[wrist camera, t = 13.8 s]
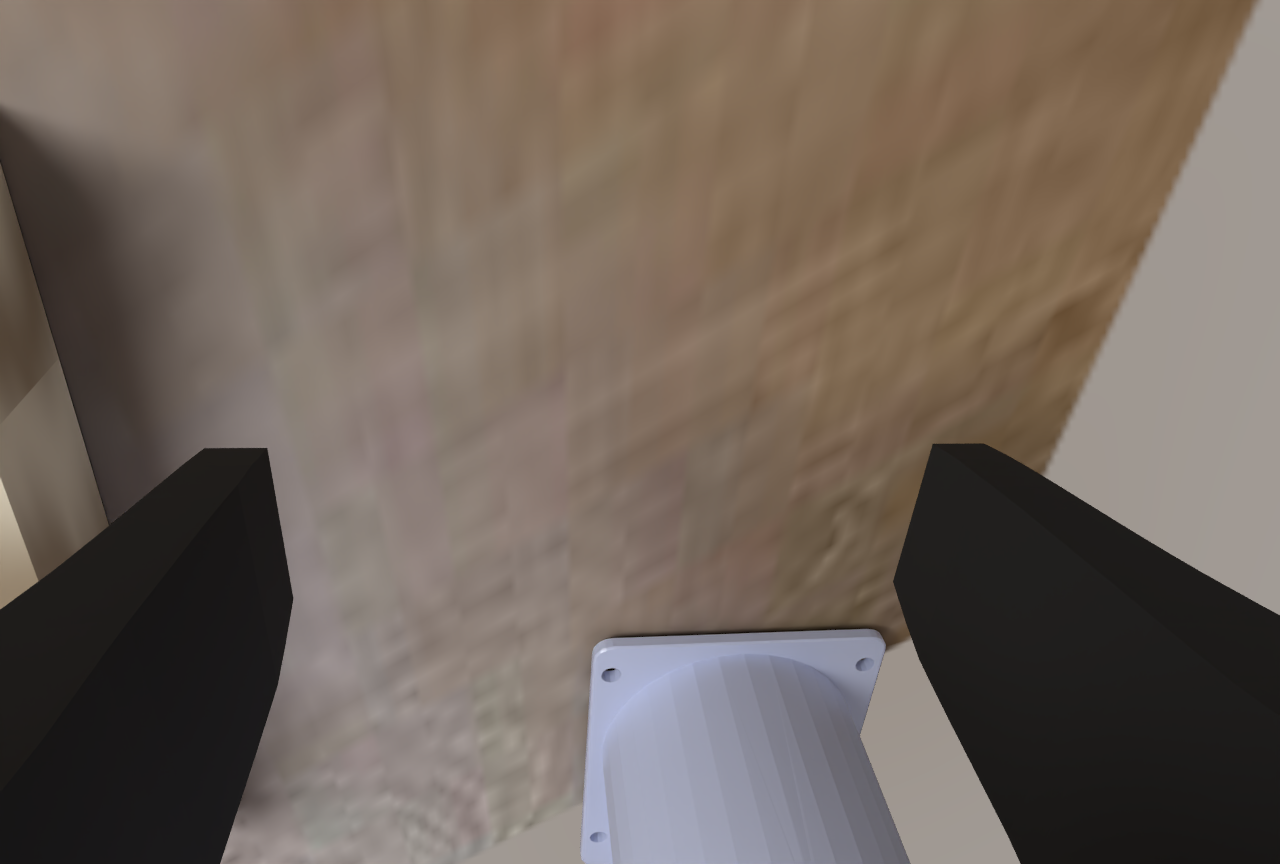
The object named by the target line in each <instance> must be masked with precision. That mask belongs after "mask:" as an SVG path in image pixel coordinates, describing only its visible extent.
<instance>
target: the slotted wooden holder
mask: <svg viewBox="0 0 1280 864" xmlns="http://www.w3.org/2000/svg"><path fill="white" fill-rule="evenodd" d="M108 526H109V524H108V521H107V517H106V514H105V511H104V507H103V504H102V501H101V497H100V494H99V491H98V487H97V484H96V481H95V477H94V474H93V471H92V467H91V464H90V461H89V457H88V454H87V451H86V447H85V444H84V441H83V437H82V434H81V431H80V427H79V424H78V421H77V417H76V414H75V411H74V407H73V404H72V401H71V397H70V394H69V391H68V387H67V384H66V380H65V377H64V374H63V370H62V367H61V364H60V360H59V357H58V354H57V350H56V347H55V344H54V340H53V337H52V334H51V330H50V327H49V324H48V320H47V317H46V314H45V310H44V307H43V304H42V300H41V297H40V294H39V290H38V287H37V284H36V280H35V277H34V274H33V270H32V267H31V264H30V260H29V257H28V254H27V250H26V247H25V244H24V240H23V237H22V234H21V230H20V227H19V223H18V220H17V217H16V213H15V210H14V207H13V203H12V200H11V197H10V193H9V190H8V187H7V183H6V180H5V177H4V173H3V170H2V167H1V163H0V609H1V608H3V607H4V606H6V605H7V604H8V603H10V602H11V601H12V600H14V599H15V598H16V597H18V596H19V595H21V594H22V593H23V592H25V591H26V590H27V589H29V588H30V587H31V586H33V585H34V584H36V583H37V582H38V581H40V580H41V579H42V578H44V577H45V576H46V575H48V574H49V573H50V572H52V571H53V570H54V569H56V568H57V567H58V566H60V565H61V564H62V563H63V562H65V561H66V560H67V559H68V558H70V557H71V556H72V555H73V554H75V553H76V552H77V551H78V550H79V549H81V548H82V547H83V546H84V545H86V544H87V543H88V542H89V541H91V540H92V539H93V538H94V537H96V536H97V535H98V534H99V533H101V532H102V531H103V530H104V529H106V528H107V527H108Z"/></svg>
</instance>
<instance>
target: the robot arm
mask: <svg viewBox="0 0 1280 864" xmlns="http://www.w3.org/2000/svg"><path fill="white" fill-rule="evenodd" d="M893 583H894V586H895V589H896V592H897V595H898V599H899V602H900V605H901V608H902V611H903V614H904V617H905V621H906V624H907V627H908V629H909V632H910V635H911V638H912V640H913V643H914V646H915V649H916V651H917V654H918V657H919V660H920V662H921V664H922V666H923V668H924V670H925V672H926V674H927V676H928V678H929V680H930V683H931V684H932V686H933V688H934V691H935V693H936V695H937V697H938V699H939V701H940V702H941V705H942V707H943V708H944V711H945V713H946V715H947V717H948V719H949V721H950V723H951V725H952V727H953V728H954V730H955V732H956V734H957V736H958V738H959V740H960V742H961V744H962V746H963V748H964V750H965V752H966V754H967V756H968V758H969V760H970V762H971V763H972V766H973V768H974V770H975V772H976V774H977V776H978V778H979V780H980V782H981V784H982V786H983V788H984V790H985V792H986V793H987V795H988V797H989V799H990V801H991V803H992V805H993V807H994V809H995V811H996V813H997V815H998V817H999V819H1000V821H1001V823H1002V825H1003V827H1004V829H1005V831H1006V833H1007V835H1008V837H1009V839H1010V841H1011V843H1012V846H1013V848H1014V850H1015V852H1016V854H1017V857H1018V859H1019V861H1020V863H1021V864H1280V615H1278V614H1276V613H1274V612H1272V611H1271V610H1269V609H1267V608H1265V607H1263V606H1261V605H1259V604H1258V603H1256V602H1254V601H1252V600H1250V599H1248V598H1247V597H1245V596H1243V595H1241V594H1240V593H1238V592H1236V591H1234V590H1232V589H1230V588H1229V587H1227V586H1225V585H1223V584H1222V583H1220V582H1218V581H1216V580H1214V579H1213V578H1211V577H1209V576H1207V575H1205V574H1203V573H1202V572H1200V571H1198V570H1197V569H1195V568H1193V567H1192V566H1190V565H1188V564H1186V563H1185V562H1183V561H1181V560H1180V559H1178V558H1176V557H1174V556H1173V555H1171V554H1169V553H1168V552H1166V551H1164V550H1163V549H1161V548H1159V547H1158V546H1156V545H1154V544H1152V543H1151V542H1149V541H1148V540H1146V539H1144V538H1143V537H1141V536H1139V535H1138V534H1136V533H1134V532H1133V531H1131V530H1130V529H1128V528H1126V527H1125V526H1123V525H1121V524H1120V523H1118V522H1116V521H1115V520H1113V519H1112V518H1110V517H1108V516H1107V515H1105V514H1103V513H1102V512H1100V511H1099V510H1097V509H1095V508H1094V507H1092V506H1091V505H1089V504H1087V503H1086V502H1084V501H1083V500H1081V499H1079V498H1078V497H1076V496H1074V495H1073V494H1071V493H1070V492H1068V491H1066V490H1065V489H1063V488H1062V487H1060V486H1058V485H1057V484H1055V483H1053V482H1052V481H1050V480H1048V479H1047V478H1045V477H1043V476H1042V475H1040V474H1038V473H1037V472H1035V471H1033V470H1032V469H1030V468H1028V467H1027V466H1025V465H1023V464H1021V463H1020V462H1018V461H1016V460H1014V459H1013V458H1011V457H1009V456H1007V455H1005V454H1003V453H1002V452H1000V451H998V450H996V449H994V448H992V447H990V446H988V445H985V444H933V445H932V449H931V452H930V456H929V459H928V463H927V466H926V470H925V473H924V477H923V480H922V483H921V487H920V490H919V494H918V497H917V501H916V504H915V508H914V511H913V515H912V518H911V521H910V525H909V528H908V532H907V535H906V539H905V542H904V546H903V549H902V553H901V556H900V560H899V563H898V566H897V570H896V573H895V577H894V580H893ZM292 603H293V594H292V589H291V583H290V577H289V571H288V565H287V560H286V554H285V548H284V542H283V537H282V531H281V525H280V519H279V514H278V508H277V502H276V496H275V490H274V485H273V479H272V473H271V467H270V462H269V456H268V450H267V448H204V449H203V450H202V451H200V452H199V453H198V454H196V455H195V456H194V457H192V458H191V459H190V460H189V461H187V462H186V463H185V464H183V465H182V466H181V467H180V468H179V469H177V470H176V471H175V472H174V473H172V474H171V475H170V476H169V477H168V478H166V479H165V480H164V481H163V482H162V483H160V484H159V485H158V486H157V487H155V488H154V489H153V490H152V491H151V492H149V493H148V494H147V495H146V496H145V497H143V498H142V499H141V500H140V501H139V502H137V503H136V504H135V505H134V506H133V507H131V508H130V509H129V510H128V511H127V512H125V513H124V514H123V515H122V516H121V517H119V518H118V519H117V520H116V521H114V522H113V523H112V524H111V525H109V526H108V527H107V528H106V529H104V530H103V531H102V532H101V533H99V534H98V535H97V536H96V537H94V538H93V539H92V540H91V541H89V542H88V543H87V544H86V545H84V546H83V547H82V548H81V549H79V550H78V551H77V552H76V553H75V554H73V555H72V556H71V557H70V558H68V559H67V560H66V561H65V562H63V563H62V564H61V565H60V566H58V567H57V568H56V569H54V570H53V571H52V572H50V573H49V574H48V575H46V576H45V577H44V578H42V579H41V580H40V581H38V582H37V583H36V584H34V585H33V586H31V587H30V588H29V589H27V590H26V591H25V592H23V593H22V594H21V595H19V596H18V597H16V598H15V599H14V600H12V601H11V602H10V603H8V604H7V605H6V606H4V607H3V608H1V609H0V864H220V862H221V859H222V856H223V853H224V850H225V847H226V844H227V841H228V838H229V835H230V832H231V829H232V825H233V822H234V819H235V816H236V813H237V810H238V807H239V804H240V801H241V798H242V795H243V792H244V789H245V786H246V783H247V780H248V776H249V773H250V770H251V767H252V764H253V761H254V758H255V755H256V752H257V749H258V746H259V742H260V739H261V736H262V733H263V730H264V727H265V724H266V721H267V717H268V714H269V711H270V708H271V705H272V702H273V698H274V695H275V692H276V689H277V685H278V680H279V675H280V670H281V665H282V660H283V655H284V649H285V644H286V638H287V632H288V627H289V621H290V615H291V609H292ZM885 649H886V644H885V642H884V640H883V638H882V636H881V634H880V633H879V632H878V631H876V630H873V629H851V630H823V631H795V632H768V633H740V634H713V635H685V636H657V637H630V638H610V639H605V640H603V641H601V642H599V643H598V644H597V645H596V646H595V647H594V649H593V652H592V664H591V680H590V696H589V712H588V729H587V745H586V761H585V777H584V794H583V811H582V826H581V843H580V852H581V859H582V861H583V862H585V863H586V864H910V862H909V859H908V856H907V854H906V852H905V849H904V846H903V844H902V841H901V839H900V836H899V834H898V832H897V829H896V826H895V824H894V821H893V819H892V816H891V814H890V811H889V809H888V806H887V804H886V801H885V799H884V796H883V794H882V791H881V789H880V786H879V783H878V781H877V779H876V776H875V773H874V771H873V768H872V766H871V763H870V761H869V758H868V756H867V753H866V751H865V748H864V746H863V743H862V741H861V738H860V733H861V730H862V726H863V723H864V720H865V716H866V713H867V710H868V706H869V703H870V700H871V696H872V693H873V690H874V686H875V683H876V679H877V676H878V673H879V669H880V666H881V663H882V659H883V656H884V653H885ZM863 658H865V659H863ZM861 659H863V660H861ZM610 668H615V670H612V671H606V669H610Z"/></svg>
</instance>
